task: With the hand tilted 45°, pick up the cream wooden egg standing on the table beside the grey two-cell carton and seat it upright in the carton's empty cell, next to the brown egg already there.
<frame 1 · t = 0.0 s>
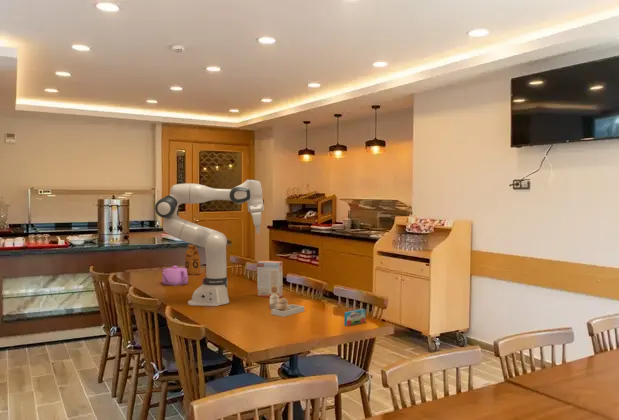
hand: (258, 232, 284), 39 cm above the table, tool pointing down, fingers open, 8 cm apart
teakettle: (174, 284, 341), on the table
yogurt: (354, 324, 238), on the table
brown egg: (282, 314, 254), point 1 cm above the table, touching carton
carton: (288, 313, 257), on the table
cracker box: (270, 296, 301), on the table
coffee package: (192, 274, 385), on the table
cream egg: (274, 308, 268), on the table
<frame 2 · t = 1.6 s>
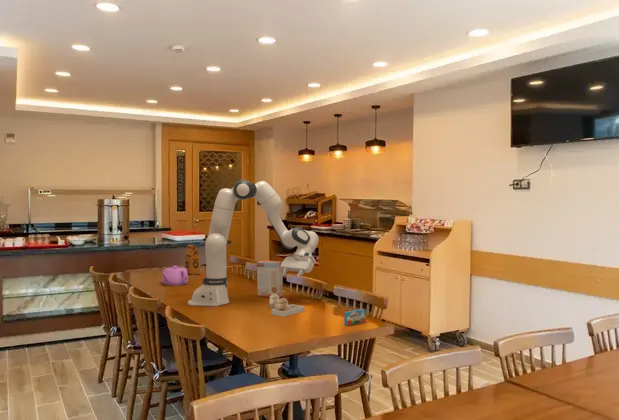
hand: (290, 276, 277), 16 cm above the table, tool tilted 45°, fingers open, 8 cm apart
nothing on the table moved.
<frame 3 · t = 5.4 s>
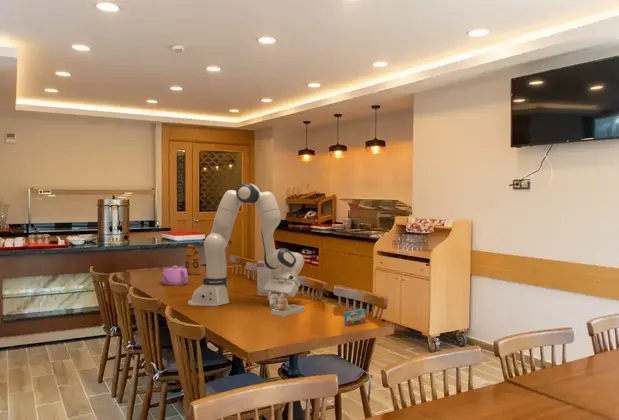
hand: (273, 300, 267), 5 cm above the table, tool tilted 45°, fingers closed on cream egg, 5 cm apart
cream egg: (274, 308, 268), on the table, touching gripper
everything else where it was.
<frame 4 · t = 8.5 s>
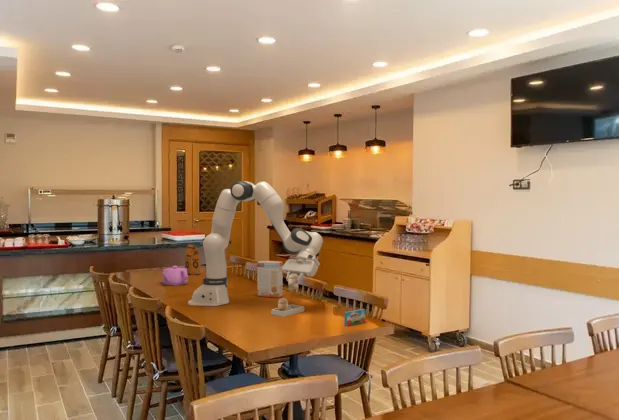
hand: (292, 280, 259), 17 cm above the table, tool tilted 45°, fingers closed on cream egg, 5 cm apart
cream egg: (293, 289, 260), point 12 cm above the table, touching gripper
everything else where it was.
when the fingers open (6 cm above the table, at t = 11.4 s): cream egg stays where it is, resting on carton.
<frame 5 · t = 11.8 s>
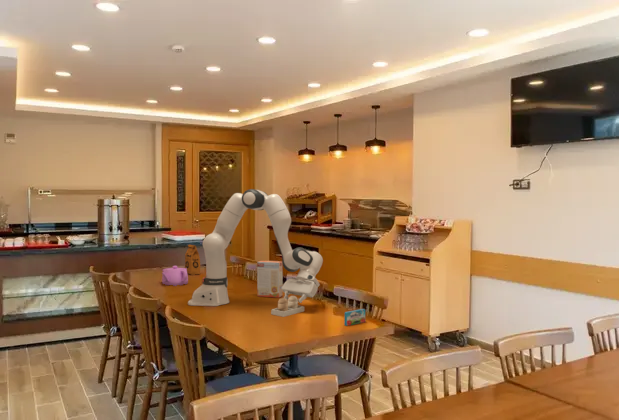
hand: (292, 300, 259), 6 cm above the table, tool tilted 45°, fingers open, 8 cm apart
cream egg: (292, 311, 260), point 1 cm above the table, touching carton
everything else where it was.
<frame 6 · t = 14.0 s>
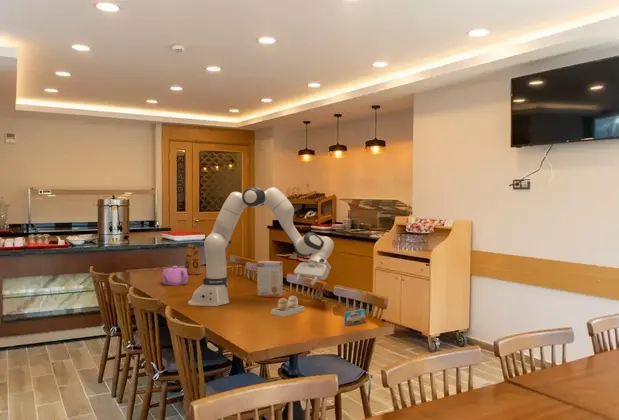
hand: (304, 283, 266), 14 cm above the table, tool tilted 45°, fingers open, 8 cm apart
nothing on the table moved.
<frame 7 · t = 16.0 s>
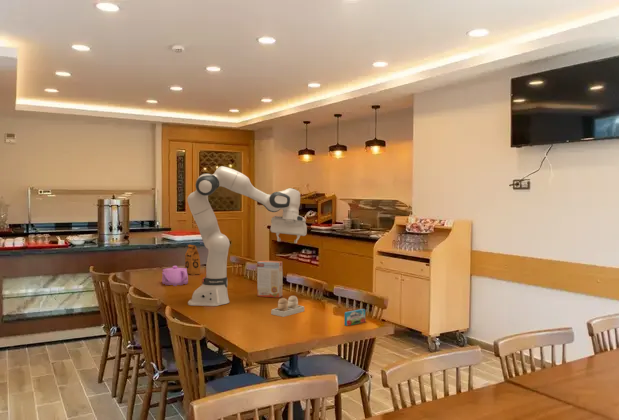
hand: (287, 242, 282), 34 cm above the table, tool pointing down, fingers open, 8 cm apart
nothing on the table moved.
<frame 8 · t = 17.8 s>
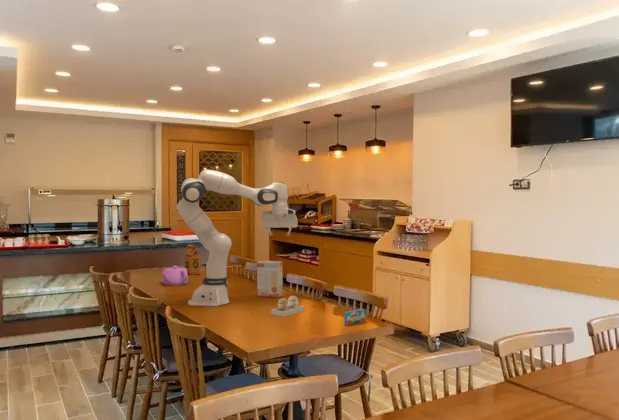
hand: (279, 235, 285), 37 cm above the table, tool pointing down, fingers open, 8 cm apart
nothing on the table moved.
at the end: cream egg 0.1 cm from the target spot on the carton, point 0.6 cm above the carton's base; cream egg tilted 0°; brown egg moved 0.0 cm from its start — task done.
